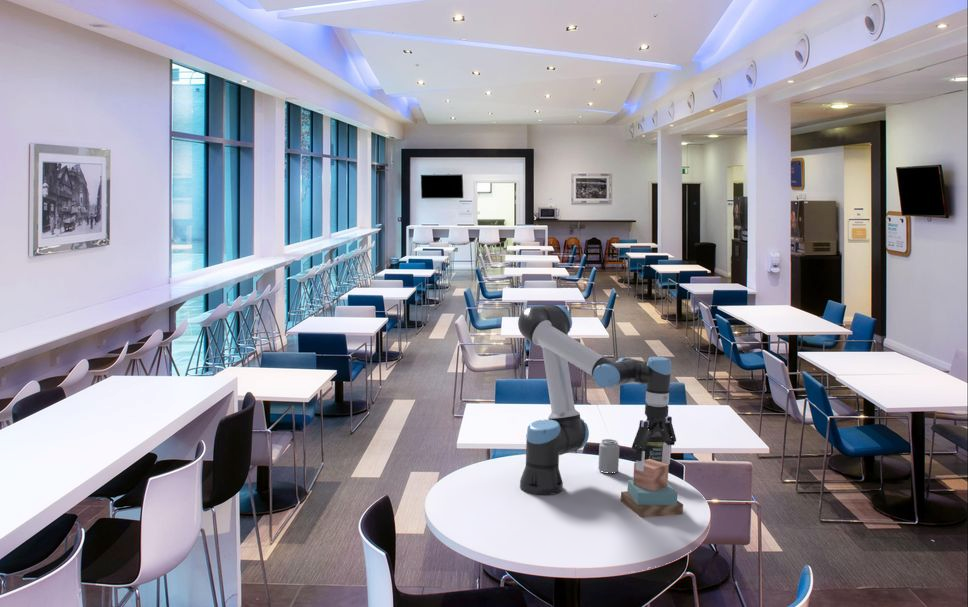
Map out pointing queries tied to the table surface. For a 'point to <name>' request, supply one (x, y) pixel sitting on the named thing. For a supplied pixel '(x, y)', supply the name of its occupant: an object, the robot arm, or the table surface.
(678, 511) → the tower base
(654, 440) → the coffee jar
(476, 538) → the table surface
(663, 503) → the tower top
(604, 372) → the robot arm
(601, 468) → the can
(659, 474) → the block
